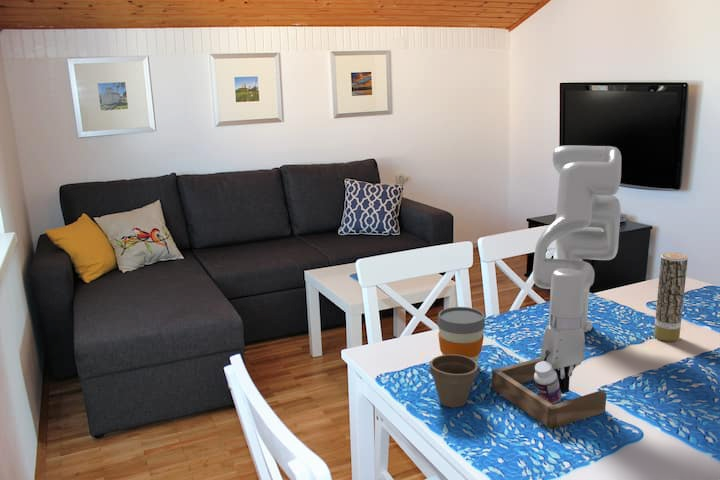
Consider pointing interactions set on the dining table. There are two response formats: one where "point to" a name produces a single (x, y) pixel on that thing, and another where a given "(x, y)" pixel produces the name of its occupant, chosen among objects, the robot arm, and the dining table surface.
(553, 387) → the pill bottle
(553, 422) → the box
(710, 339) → the dining table surface
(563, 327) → the robot arm
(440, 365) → the flower pot
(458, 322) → the reusable coffee cup
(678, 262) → the brown upright cylinder piece
